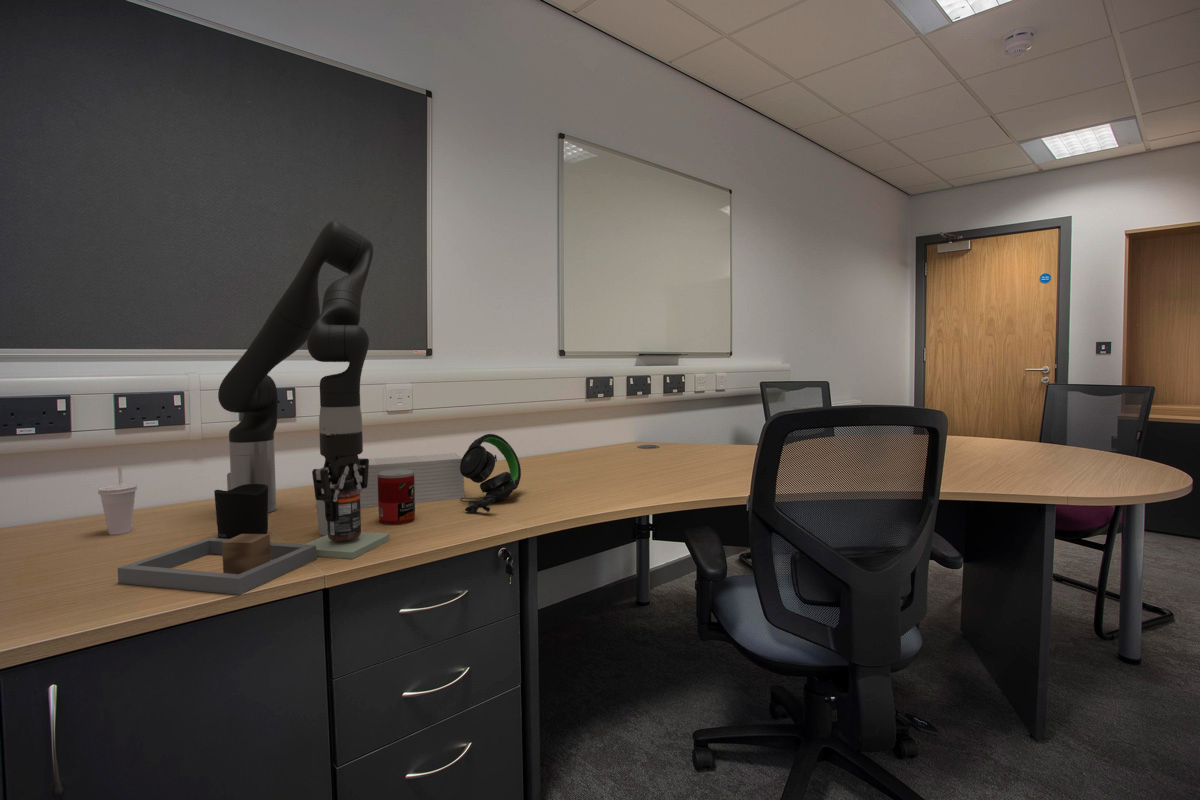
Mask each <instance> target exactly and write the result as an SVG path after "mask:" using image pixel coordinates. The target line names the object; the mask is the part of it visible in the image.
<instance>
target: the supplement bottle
mask: <svg viewBox="0 0 1200 800" xmlns="http://www.w3.org/2000/svg"><path fill="white" fill-rule="evenodd" d="M331 484H333V485H336V484H337V483H331ZM354 485H355V484H354V479H353V478H352V479H349V480H345V482H344V486H343V489H342V490H340V492H339V496H338V500H337V502H338V512H339V519H338V521H335V522H328V521H327V527H328V529H327V530H328V538H329V539H330V540H333V541H347V540H351V539H354V538H357V537H359V536H360V534H361V532H362V522H361V521H362V519H361V518H362V517H361V508H360V492H359V491H358V490H357V489H355V487H354ZM333 491H334V490H331V495H332V494H333Z"/></svg>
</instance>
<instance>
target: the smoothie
mask: <svg viewBox="0 0 1200 800" xmlns="http://www.w3.org/2000/svg"><path fill="white" fill-rule="evenodd" d="M117 469H118V471H117V472H118V484H113V485H106V486H102V487H100V488H98V491H97V494H98V495H100V499H101V503H102V505H101V506H102V509H103V510H102V511H103V512H104V513H103V514H104V519H105V522H106V527H107V532H108V535H109V534H110V535H111V536H115V535H123V534H128V533H130V532H132V527H133V526H132V525H133V517H134V506H135V497H136V491H137V490H138V487H137V484H134V483H123V474H122V473H123V471H122V469H123V468H122V465H117Z"/></svg>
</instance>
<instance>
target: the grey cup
mask: <svg viewBox="0 0 1200 800" xmlns="http://www.w3.org/2000/svg"><path fill="white" fill-rule="evenodd" d="M331 483H332V482H331ZM331 483H330V484H331ZM321 491H322V494H323V493H324V490H323V489H321ZM315 502H316V511H317V512H316V513H317V515H316V516H317V525H318V534H319V535H322V536H325V535H328V530H327V529H328V527H327V520H326V517H325V502H324V501H321V500H316V499H315Z"/></svg>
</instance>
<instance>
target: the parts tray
mask: <svg viewBox="0 0 1200 800" xmlns="http://www.w3.org/2000/svg"><path fill="white" fill-rule="evenodd" d="M227 540H229V539H221V538H219V537H207V538H205V539H201V540H198V541H195V542H192V543H189V544H186V545H183V546H179V547H177V548H174V549H171V550H168V551H165V552H161V553H159V554H155V555H153V556H149V557H147V558H144V559H140V560H138V561H134V562H131V563H129V564H125V565H122V566H119V567H117V581H118V582H117V583H118V584H125V585H133V586H136V585H137V586H145V587H155V588H163V589H175V590H184V591H197V592H205V593H207V592H208V593H216V594H227V595H237V596H240V595H243V594H245V593H246V592H249V591H251V590H253V589H255V588H257V587H260V586H261V585H264V584H266V583H268V582H270V581H273V580H274V579H277V578H279V577H281V576H284V575H286V574H287V572H288V573H289V572H292V571H293V570H296V569H299V568H301V567H302V565H303V566H304V564H305V565H307V564H309V563H311V562H313V561H316V560H317V559H318V558H317V557H318V556H316V545H304V544H301V543H300V544H299V543H288V542H273V541H270V553H271V561H269V562H267V563H264V564H262V565H260V566H257V567H255V568H253V569H250V570H248V571H246V572H243V573H241V574H228V573H223V572H213V571H203V570H191V569H180V568H175V567H177V566H180V565H183V564H186V563H188V562H191V561H193V560H197V559H199V558H203V557H205V556H208V555H220V556H221V555H222V556H223V553H222V542H224V541H227Z"/></svg>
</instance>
